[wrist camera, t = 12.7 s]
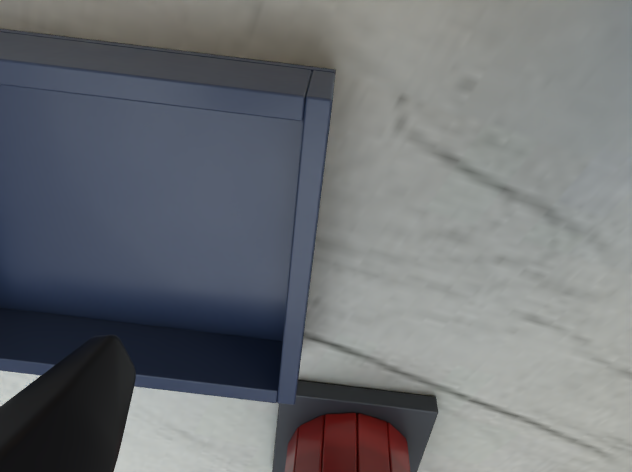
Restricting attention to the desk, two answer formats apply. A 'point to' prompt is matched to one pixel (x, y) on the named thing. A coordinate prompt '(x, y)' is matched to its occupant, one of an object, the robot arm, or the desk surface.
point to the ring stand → (393, 407)
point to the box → (159, 210)
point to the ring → (347, 445)
